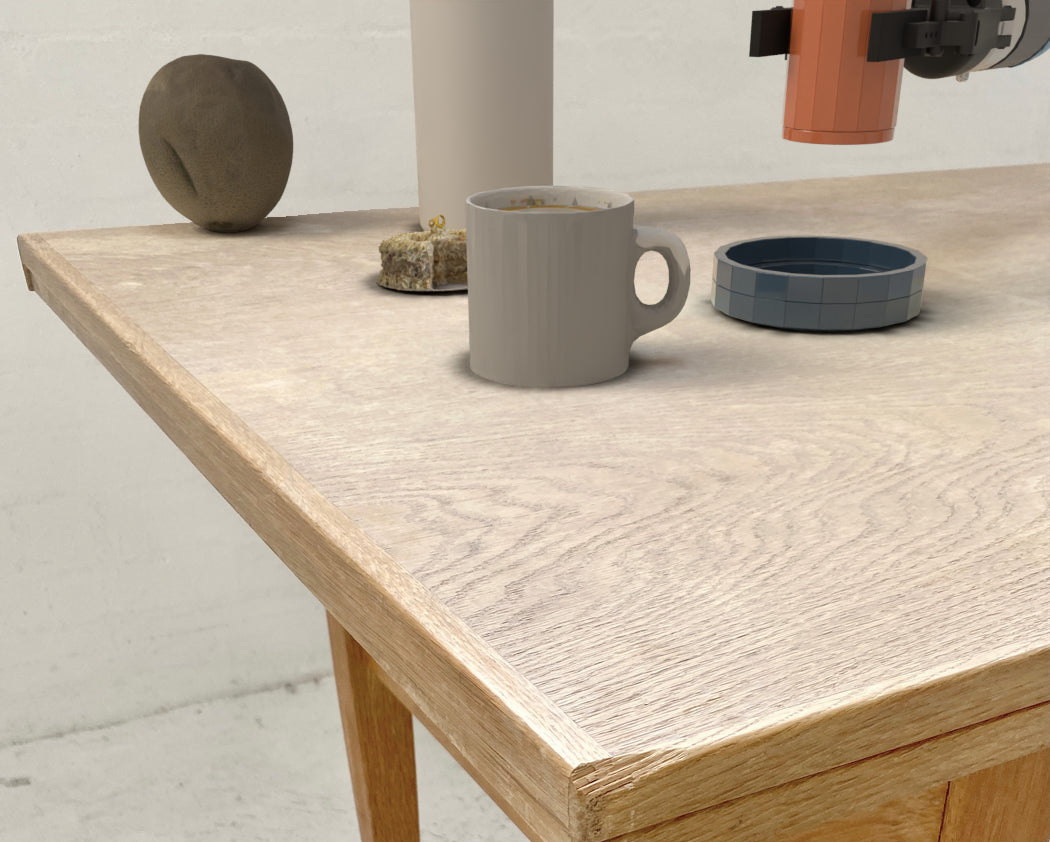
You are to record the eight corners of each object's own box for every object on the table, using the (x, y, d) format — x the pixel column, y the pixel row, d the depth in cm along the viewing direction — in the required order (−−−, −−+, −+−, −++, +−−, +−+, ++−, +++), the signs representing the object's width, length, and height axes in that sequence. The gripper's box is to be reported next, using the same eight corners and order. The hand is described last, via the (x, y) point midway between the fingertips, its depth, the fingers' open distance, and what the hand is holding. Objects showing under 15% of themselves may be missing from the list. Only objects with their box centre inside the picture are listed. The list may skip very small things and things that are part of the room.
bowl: (960, 327, 88) (970, 267, 86) (769, 346, 85) (774, 284, 83) (851, 283, 100) (857, 230, 98) (679, 298, 97) (681, 243, 95)
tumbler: (915, 142, 87) (937, -29, 82) (814, 147, 85) (831, -27, 80) (857, 129, 93) (874, -30, 88) (762, 134, 91) (774, -28, 86)
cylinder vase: (399, 238, 118) (381, -81, 105) (448, 216, 128) (438, -78, 116) (528, 246, 114) (527, -83, 102) (569, 222, 125) (571, -80, 112)
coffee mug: (455, 387, 77) (448, 211, 72) (486, 344, 86) (483, 184, 81) (679, 396, 75) (689, 216, 70) (689, 352, 84) (698, 188, 79)
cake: (351, 292, 102) (343, 220, 99) (445, 274, 108) (440, 206, 105) (434, 301, 95) (428, 224, 93) (530, 282, 101) (526, 209, 99)
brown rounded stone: (327, 233, 121) (312, 54, 113) (181, 250, 114) (155, 61, 107) (269, 212, 131) (252, 47, 124) (132, 226, 125) (105, 53, 117)
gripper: (1083, 82, 94) (959, 109, 79) (827, 70, 105) (675, 92, 90) (1105, -36, 90) (980, -32, 75) (837, -35, 102) (680, -32, 86)
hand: (813, 35), depth 83 cm, fingers closed on tumbler, 8 cm apart
